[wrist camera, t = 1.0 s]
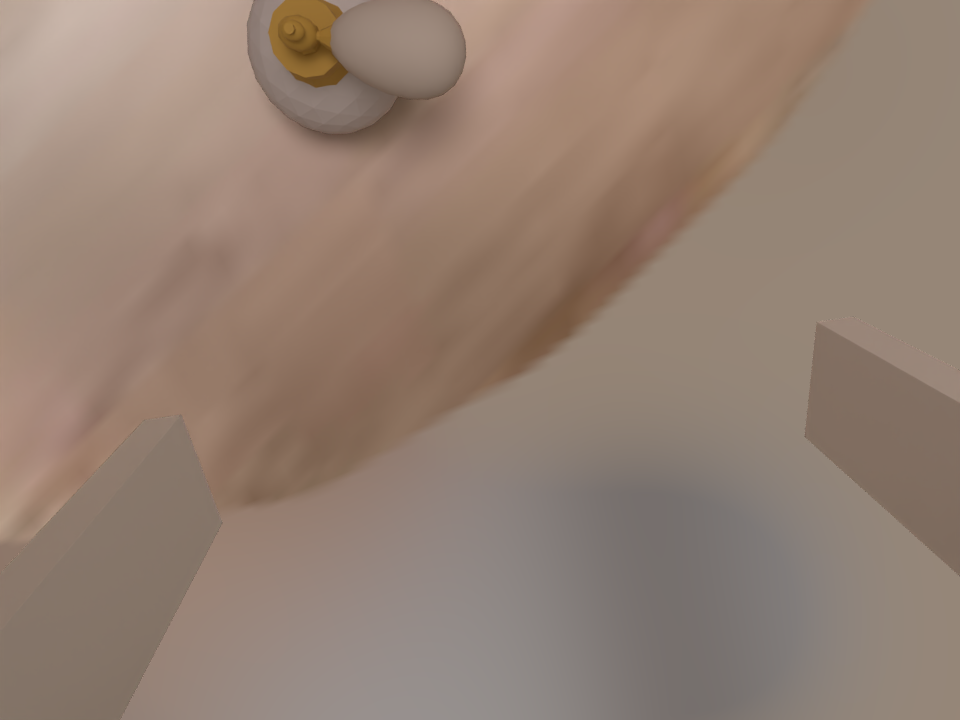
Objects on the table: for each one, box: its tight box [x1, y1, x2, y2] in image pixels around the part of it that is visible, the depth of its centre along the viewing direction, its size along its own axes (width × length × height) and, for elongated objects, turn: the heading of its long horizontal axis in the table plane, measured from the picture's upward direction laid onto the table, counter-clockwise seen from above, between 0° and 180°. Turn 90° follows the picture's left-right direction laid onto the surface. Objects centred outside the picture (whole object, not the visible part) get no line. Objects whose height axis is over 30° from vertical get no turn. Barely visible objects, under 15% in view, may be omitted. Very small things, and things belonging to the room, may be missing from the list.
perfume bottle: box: [247, 0, 466, 134], centre depth 26 cm, size 8×10×12 cm
